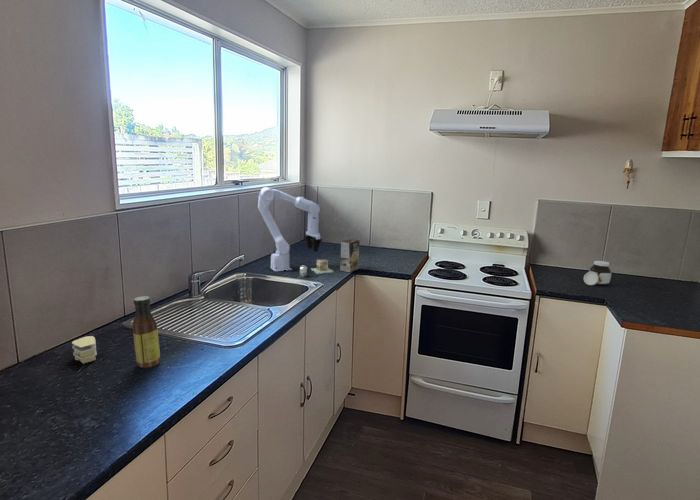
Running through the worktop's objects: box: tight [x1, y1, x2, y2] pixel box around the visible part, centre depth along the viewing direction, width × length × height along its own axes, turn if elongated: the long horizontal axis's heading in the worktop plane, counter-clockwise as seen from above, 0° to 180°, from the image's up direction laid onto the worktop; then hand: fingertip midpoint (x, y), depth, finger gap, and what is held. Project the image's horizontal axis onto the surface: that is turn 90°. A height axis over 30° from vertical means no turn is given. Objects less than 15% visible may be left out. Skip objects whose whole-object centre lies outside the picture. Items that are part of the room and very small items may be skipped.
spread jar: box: [583, 260, 612, 287], centre depth 223 cm, size 12×11×12 cm
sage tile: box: [310, 267, 335, 275], centre depth 230 cm, size 9×9×1 cm
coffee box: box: [339, 238, 360, 273], centre depth 233 cm, size 9×6×16 cm
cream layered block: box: [71, 335, 98, 365], centre depth 126 cm, size 10×9×6 cm
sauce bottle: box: [132, 295, 161, 369], centre depth 122 cm, size 6×6×20 cm
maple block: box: [316, 258, 329, 271], centre depth 229 cm, size 4×4×5 cm
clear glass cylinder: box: [299, 265, 308, 278], centre depth 218 cm, size 4×4×5 cm
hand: (312, 250), depth 234 cm, fingers open, 7 cm apart
